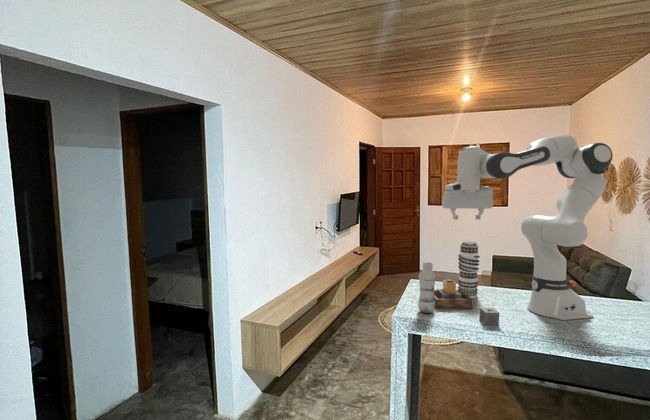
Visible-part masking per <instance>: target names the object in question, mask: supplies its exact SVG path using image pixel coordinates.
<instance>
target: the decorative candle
mask: <svg viewBox="0 0 650 420" xmlns="http://www.w3.org/2000/svg"><path fill="white" fill-rule="evenodd" d="M459 246H460V248H459V249H460V251H459V253H458V271H459V277H458V278H459V279H458V281H457V282H458V283H457V284H458V286H457V290H461V291H462V292H464V293H465V294H466V295H467V296H469V297H470V298H471V299H476V298H477V297H478V294H479V293H478V289H479V288H478V287H479V286H478V283H479V281H478V272H479V270H480V269H479V267H478V266H479V265H480V260H479V258H480V257H481V256H480V255H479V247H480V246H479V245H478V243H477V242H475V241H469V240H468V241H467V240H466V241H463V242H462V243H461V244H459Z"/></svg>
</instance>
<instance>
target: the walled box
mask: <svg viewBox="0 0 650 420" xmlns="http://www.w3.org/2000/svg"><path fill="white" fill-rule="evenodd" d="M434 301H435V310H448V309H449V310H460V309H461V310H464V309H465V310H468V309H469V310H472V309H473V298H470V297H469V296H467V295H466V294H465V293H464V292H462V291H461V290H458V289H456V293H444V292H443V288H436V289H434Z"/></svg>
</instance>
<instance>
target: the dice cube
mask: <svg viewBox="0 0 650 420" xmlns="http://www.w3.org/2000/svg"><path fill="white" fill-rule="evenodd" d="M479 321H480V323H481V324H483V325H484V326H486V327H490V326H495V327H497V326H498V327H499V325H500V311H498V310H496V308H494V307H480V308H479Z"/></svg>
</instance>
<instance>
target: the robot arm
mask: <svg viewBox="0 0 650 420" xmlns="http://www.w3.org/2000/svg"><path fill="white" fill-rule="evenodd" d="M613 157H614V155H613V150H612V148H611V147H610V146H609V145H608V144H606V143H603V142H593V143H590V144H587V145H585V146H582V147H580V146H578V141H577V140H576V139H575V137H573V136H572V135H570V134H559V135H556V134H555V135H550V136H546V137H543V138H540V139H537V140H535V141H532V142H530V143H529V144H528V145H527V147H526V150H523V151H518V152H515V153H512V152H506V151H503V152H498V153H488V152H487V151H485V150H483V149H482V148H480V146H479V145H473V146H467V147H466V146H465V147H462V148H461V149H459V152H458V157H457V163H456V164H457V165H456V166H457V167H456V168H457V176H456V181H455V182H451V183H448V184H446V185H444V190H445V191H444V192H443V194H442V200H441V206H442V208H444V209H450V212H451V215H452V219H453V220H458V219H459V215H458V214H456V210H457V209H469V210H470V209H475V210H476V209H478V213H477V214H475V220H478V221H479V220H481V219H482V215H483V213H484V211H485V209H490V210H491V209H492V208H493V207H494V197H493V195H494V190H493V188H492V187H491V186H488V185H487V186H485V185H481V184H480V183H481V178H483V179H500V180H501V179H507V178H509V177H511V176H513V175H514V174H515V173H516V172H518V171H520V170H522V169H525V168H529V167H531V166H537V167H539V166H546V165H550V164H554V163H555V165H556V168H557V171H558V173H559V175H561V176H562V177H564V178H565V179H574V180H573V182H572V184H571V185H569V186H568V188H567V189H566V190H565V191H564V192H563V194H562V195H561V196H560V197H559V198H558V199H557V201H556V209H557V211H558V213H557V214H556V215H554V216H553V215H545V214H544V215H542V214H537V215H535V214H534V215H528V216H526V217H525V218H524V219H523V221H522V223H521V228H520V229H521V233H522V235H523V236H524V237H525V238H526V239H527V241H528V242H529V245H530V247H531V250H532V253H533V274H532V277H531V278H532V279H531V288H532V289H531V295H530V299H529V303H528V304H527V307H526V309H528V311H530V312H532V313H534V314H536V315H540V316H544V317H547V318H548V317H549V318H553V319H557V320H560V321H569V320H570V321H571V320H578V319H589V318H593V317H594V315H593V313H592V312H591V311H590V310H588V309H587V305H586V302H585V299H584V298H583V297H582V296H580V295H579V294H577V293H576V292H575V291H574V290H573V289H571V287H576V285H577V282H576V281H574V280H569V279H567V261H568V260H567V259H566V257H565V256H564V255H563V254H562V253H561V252H560V251H559V249H558V246H561V247H579V246H581V245H583V244H584V242H586V240H587V238H588V233H589V232H588V228H587V226H586V225H585V223H584V220H585V218H586V216H587V215H588V213H589V212H590V210H591V209H592V208H593V207H594V205H596V203H598V200H599V199H600V198H601V196H603V193H604V192H605V190H606V187H607V180H606V179H605V178H604V176H603V175H602V174H605V173H607V172H608V171H609V167H610V165H611V163H612V162H613V161H612V160H613ZM570 286H571V287H570Z"/></svg>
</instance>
